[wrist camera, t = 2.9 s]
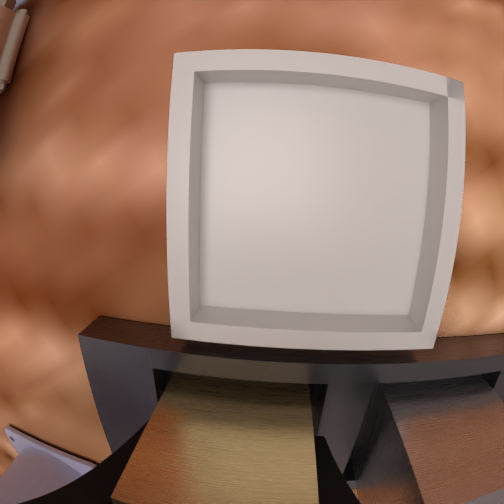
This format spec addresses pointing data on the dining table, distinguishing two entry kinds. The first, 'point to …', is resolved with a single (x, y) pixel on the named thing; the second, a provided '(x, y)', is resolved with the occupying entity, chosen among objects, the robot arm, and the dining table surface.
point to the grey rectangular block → (431, 443)
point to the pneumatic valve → (10, 38)
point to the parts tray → (311, 199)
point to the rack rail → (267, 374)
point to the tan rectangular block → (224, 445)
